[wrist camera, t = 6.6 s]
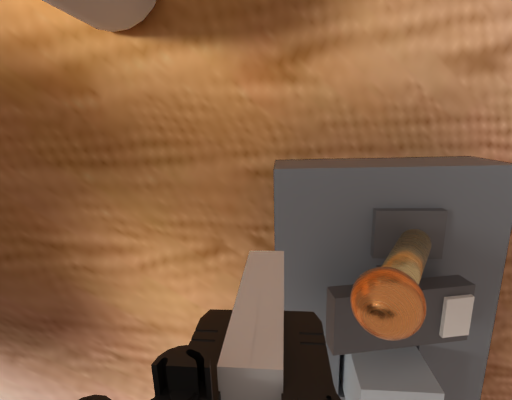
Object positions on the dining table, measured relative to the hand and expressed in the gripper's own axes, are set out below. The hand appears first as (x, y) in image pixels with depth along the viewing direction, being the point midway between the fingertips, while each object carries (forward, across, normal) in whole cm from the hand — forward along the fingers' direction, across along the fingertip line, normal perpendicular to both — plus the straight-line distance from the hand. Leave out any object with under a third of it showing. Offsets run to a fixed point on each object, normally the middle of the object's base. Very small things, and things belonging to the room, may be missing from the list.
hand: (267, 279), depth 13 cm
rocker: (+4, +7, -4) cm, 9 cm away
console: (+11, +7, -8) cm, 15 cm away
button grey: (+8, +7, -10) cm, 15 cm away
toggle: (+5, +8, 0) cm, 9 cm away
